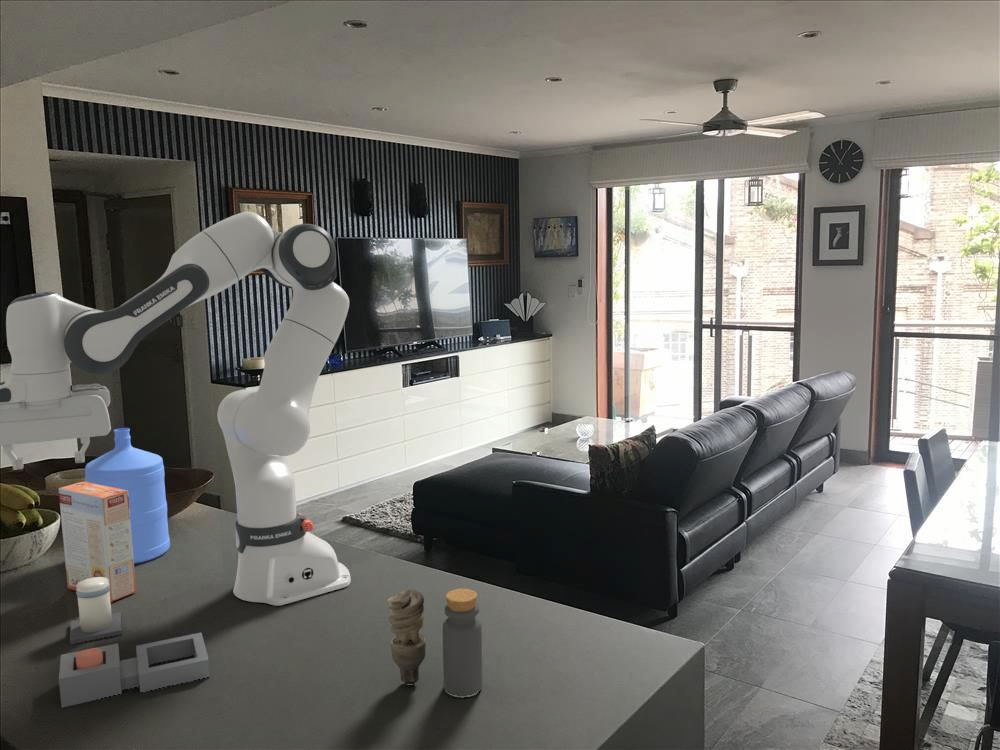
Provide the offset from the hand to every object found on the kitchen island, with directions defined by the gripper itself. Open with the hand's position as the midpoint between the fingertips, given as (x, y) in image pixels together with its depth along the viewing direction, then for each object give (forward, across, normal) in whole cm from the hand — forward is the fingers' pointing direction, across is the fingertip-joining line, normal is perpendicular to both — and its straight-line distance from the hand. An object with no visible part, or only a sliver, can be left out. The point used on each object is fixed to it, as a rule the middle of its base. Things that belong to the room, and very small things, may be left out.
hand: (49, 465), depth 140 cm
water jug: (+29, -12, -31) cm, 44 cm away
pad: (+29, -5, +6) cm, 30 cm away
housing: (+29, -11, +27) cm, 41 cm away
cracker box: (+29, -6, -12) cm, 32 cm away
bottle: (+29, -55, +53) cm, 82 cm away
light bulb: (+29, -48, +48) cm, 74 cm away
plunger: (+29, -5, +27) cm, 40 cm away
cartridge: (+28, -5, +6) cm, 29 cm away
